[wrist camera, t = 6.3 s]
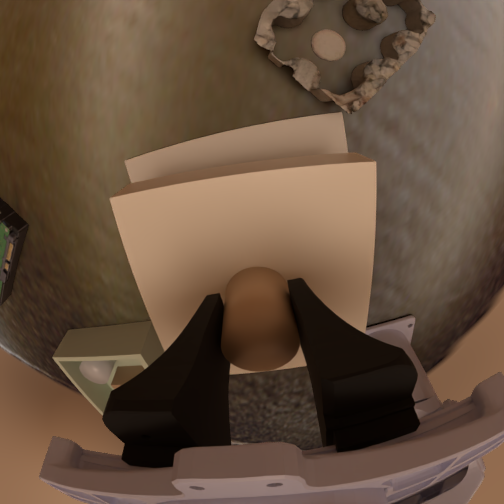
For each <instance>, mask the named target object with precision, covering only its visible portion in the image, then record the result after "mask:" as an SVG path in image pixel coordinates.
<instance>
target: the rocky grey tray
mask: <svg viewBox="0 0 504 504" xmlns="http://www.w3.org/2000/svg"><path fill="white" fill-rule="evenodd" d="M396 4H398V5H399V6H400V7H401V8H402V9H403V10H404V11H405V12H406V14H407V16H406V19H405V24H406V27H407V29H408V30H401V31H398V32H396V33H393V34H391V35H389V36H387V37H385V38H384V39H383V40H382V42H381V45H380V49H381V53H382V55H383V57H384V59H373V60H372V61H370V62H366V63H363V64H361V65H358V66H357V67H355V69H354V70H353V72H352V75H351V81H352V85H353V87H354V90H352V91H350V92H348V93H345V94H341V95H336V94H333V93H331V92H330V91H328V90H325V89H319V88H318V87H319V85H320V72H319V70H318V69H317V67H316V65H315V64H314V63H312V62H311V61H309V60H307V59H304V58H293V59H291V60H289V61H284V62H282V61H280V60H279V59H278V58H277V57H275V56H274V54H273V49H274V46H275V44H276V39H275V35H274V33H273V30H272V27H271V26H272V25H274V24H275V25H277V26H279V27H283V28H292V27H295V26H297V25H299V24H300V23H301V22H302V21H303V20H304V18H305V17H306V16H307V14H308V13H309V12H310V10H311V8H312V7H313V6H314V4H313V0H274V1H272V2H271V3H270V4H269V5H268V6H267V7H266V9H265V10H264V11H263V13H262V15H261V17H260V20H259V24H258V28H257V32H256V35H255V38H254V40H255V41H256V43H257V44H259V45H260V46H262V47H264V48H266V49H268V50H271V51H270V53H269V55H268V58H269V59H270V60H271V61H272V62H273V63H275V64H276V66H278V67H280V68H281V67H282V66H284V65H286V66H291V67H292V68H293V69H294V73H293V77H294V78H295V79H296V80H297V81H298V82H299V83H300V84H301V85H302V86H303V87H304V88H305V89H307V90H308V91H310V92H311V93H312V94H313V95H314V96H315V97H316V98H317V99H318V100H319V101H321V102H325V101H327V102H328V101H332V100H333V101H334V102H335V103H336V104H337V105H338V106H340V107H341V108H342V109H344V110H345V111H346V112H347V113H349V114H352V111H353V112H356V111H357V110H358V109H359V108H360V107H361V106H362V105H363V104H365V103H366V102H367V101H368V100H369V99H371V97H372V96H373V95H374V94H375V93H377V92H378V91H379V90H380V89H381V88H382V87H383V85H384V84H385V83H386V80H387V79H388V78H389V77H390V76H392V75H393V74H394V73H395V72H396V71H398V70H399V69H400V67H401V66H402V65H403V64H404V63H405V62H406V61H407V60H408V59H409V58H410V57H411V56H412V55H413V54H415V53H416V51H417V50H418V48H419V46H420V44H421V43H422V41H423V38H424V36H425V35H426V33H427V29H428V28H429V27H430V26H432V25H433V23H434V22H435V18H436V15H435V14H434V13H433V12H431V11H428V10H427V9H426V8H425V7H424V6H423V4H422V3H421V1H420V0H349V1H348V2H347V3H346V4H345V5H344V7H343V18H344V20H345V21H346V22H347V24H348V25H350V26H351V27H352V28H354V29H356V30H362V31H363V30H368V29H371V28H372V27H374V26H376V25H378V24H381V23H382V22H383V21H385V20H386V18H387V17H388V12H387V8H386V6H385V5H387V6H393V5H396ZM311 46H312V50H313V52H314V53H315V54H316V55H317V56H318V57H319V58H321V59H323V60H327V61H336V60H338V59H340V58H342V56H343V54H344V53H345V50H346V45H345V42H344V40H343V38H342V37H341V35H340V34H338V33H336V32H335V31H332V30H321V31H319V32H317V33H315V34H314V36H313V37H312V40H311Z"/></svg>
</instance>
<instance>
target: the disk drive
mask: <svg viewBox="0 0 504 504" xmlns="http://www.w3.org/2000/svg"><path fill="white" fill-rule="evenodd" d="M28 226H29V225H28V223H27V222H26V221H24V220H23V219H22V218H21V217H20V216H19V215H18V214H17V213H16V212H15V211H14V210H13V209H12V208H11V207H10V206H9V205H8V204H6V203H5V202H4V201H3V200H2V199H1V198H0V306H1V305H2V304H3V303H4V302H5V301H6V299H7V298H8V297H9V296H10V295H11V291H12V286H13V282H14V277H15V273H16V269H17V264H18V260H19V257H20V253H21V250H22V246H23V243H24V239H25V236H26V233H27V230H28Z"/></svg>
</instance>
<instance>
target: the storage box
mask: <svg viewBox="0 0 504 504" xmlns="http://www.w3.org/2000/svg"><path fill="white" fill-rule="evenodd" d="M164 352H165V351H164V349H163V347H162V345H161V342H160V340H159V338H158V335H157V333H156V331H155V328H154V326H153V324H152V321H143V322H135V323H127V324H119V325H110V326H101V327H91V328H81V329H70V330H68V331H67V333H66V335H65V336H64V338H63V340H62V341H61V343H60V345H59V347H58V348H57V350H56V352H55V354H54V355H53V357H52V358H53V359H54V360H55V362H56V363H57V364H58V365H59V367H60V368H61V369H62V370H63V372H64V373H65V374H66V375H67V377H68V378H69V379H70V380H71V381H72V383H73V384H74V385H75V386H76V387H77V388H78V390H79V391H80V392H81V393H82V394H83V395H84V396H85V397H86V399H87V400H88V401H89V402H90V403H91V404H92V405H93V406H94V407H95V408H96V409H97V410H98V411H99V412H100V413H101V414H102V415H103V413H104V410H105V407H106V404H107V401H108V398H109V395H110V393H111V391H112V390H114V389H116V388H118V387H119V386H121V385H123V384H124V383H126V382H128V381H129V380H131V379H132V378H134V377H135V376H137V375H138V374H139V373H141V372H142V371H143V370H145V369H146V368H147V367H148V366H150V365H151V364H152V363H153V362H154V361H155V360H156V359H157V358H158V357H160V356H161V355H162V354H163V353H164Z"/></svg>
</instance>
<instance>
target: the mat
mask: <svg viewBox="0 0 504 504" xmlns="http://www.w3.org/2000/svg"><path fill="white" fill-rule="evenodd" d="M337 153H348V149H347V142H346V135H345V128H344V122H343V115H342V112H336V113H327V114H319V115H312V116H305V117H298V118H292V119H286V120H280V121H274V122H268V123H263V124H258V125H253V126H248V127H243V128H239V129H234V130H230V131H225V132H221V133H217V134H213V135H209V136H205V137H201V138H197V139H193V140H189V141H186V142H182V143H179V144H175V145H172V146H168V147H165V148H162V149H158V150H155V151H152V152H149V153H146V154H143V155H140V156H137V157H134V158H131V159H128V160H125V164H126V167H127V171H128V174H129V177H130V180H131V183H134V182H139V181H144V180H148V179H153V178H158V177H163V176H168V175H173V174H178V173H184V172H189V171H195V170H201V169H207V168H213V167H219V166H226V165H232V164H239V163H247V162H254V161H262V160H271V159H280V158H289V157H299V156H310V155H323V154H337Z"/></svg>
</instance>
